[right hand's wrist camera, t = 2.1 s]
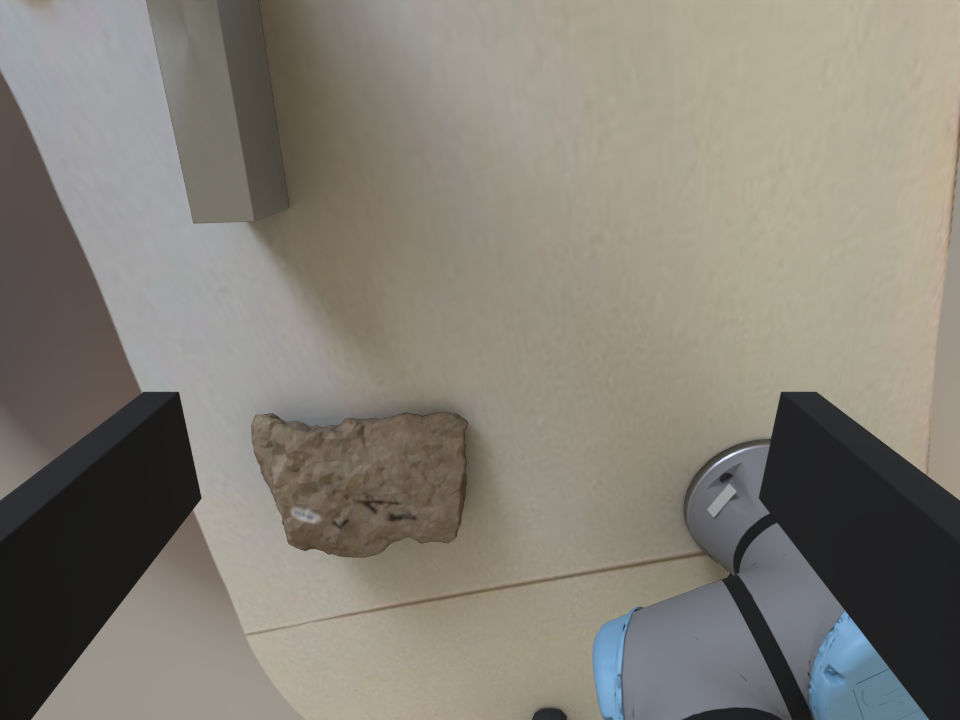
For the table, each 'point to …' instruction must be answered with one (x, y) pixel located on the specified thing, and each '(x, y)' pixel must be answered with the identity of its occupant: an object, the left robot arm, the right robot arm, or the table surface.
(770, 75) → the table surface
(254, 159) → the bar
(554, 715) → the robot
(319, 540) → the stone
